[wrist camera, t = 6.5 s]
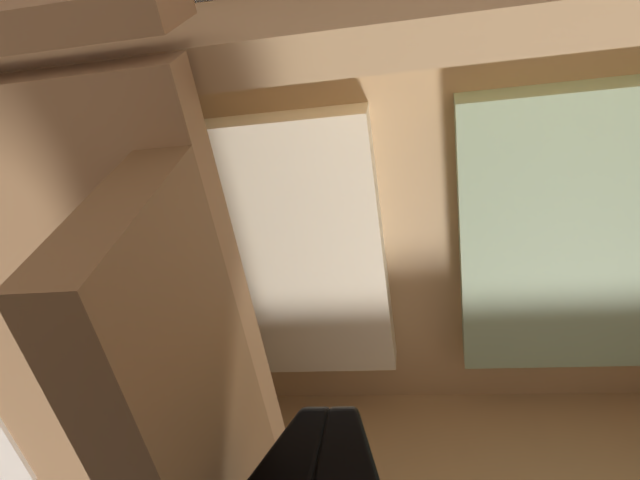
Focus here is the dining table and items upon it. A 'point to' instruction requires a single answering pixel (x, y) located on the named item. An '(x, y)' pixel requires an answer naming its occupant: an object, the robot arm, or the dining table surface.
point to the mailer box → (434, 218)
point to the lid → (119, 264)
